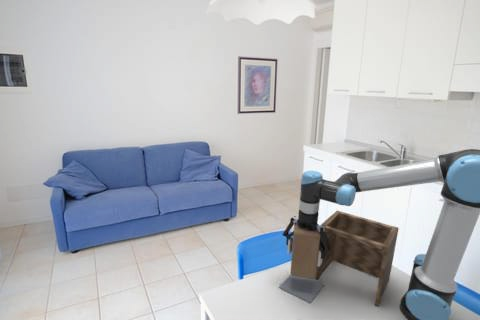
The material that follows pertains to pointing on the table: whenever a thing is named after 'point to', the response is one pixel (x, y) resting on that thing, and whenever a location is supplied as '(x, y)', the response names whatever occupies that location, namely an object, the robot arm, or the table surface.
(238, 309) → the table surface
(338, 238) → the cubby
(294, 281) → the mat
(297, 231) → the wooden block
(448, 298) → the robot arm
